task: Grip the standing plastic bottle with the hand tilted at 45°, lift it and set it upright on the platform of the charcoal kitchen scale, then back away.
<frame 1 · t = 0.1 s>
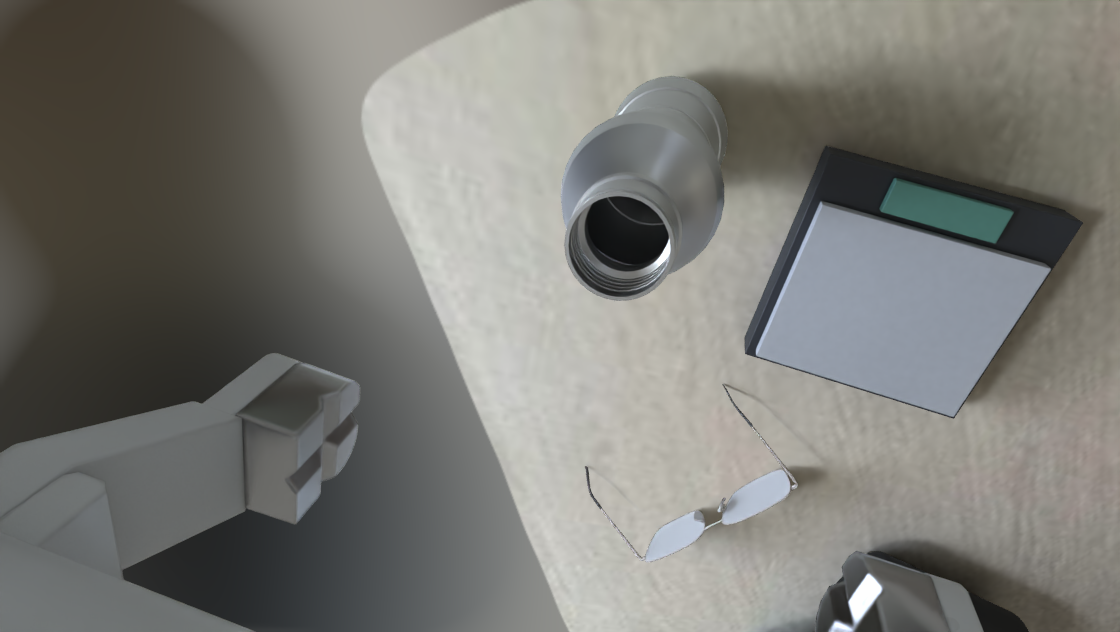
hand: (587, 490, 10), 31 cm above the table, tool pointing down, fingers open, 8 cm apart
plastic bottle: (671, 130, 38), on the table
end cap: (913, 583, 48), on the table
scale: (888, 280, 38), on the table
eyeglasses: (684, 461, 48), on the table
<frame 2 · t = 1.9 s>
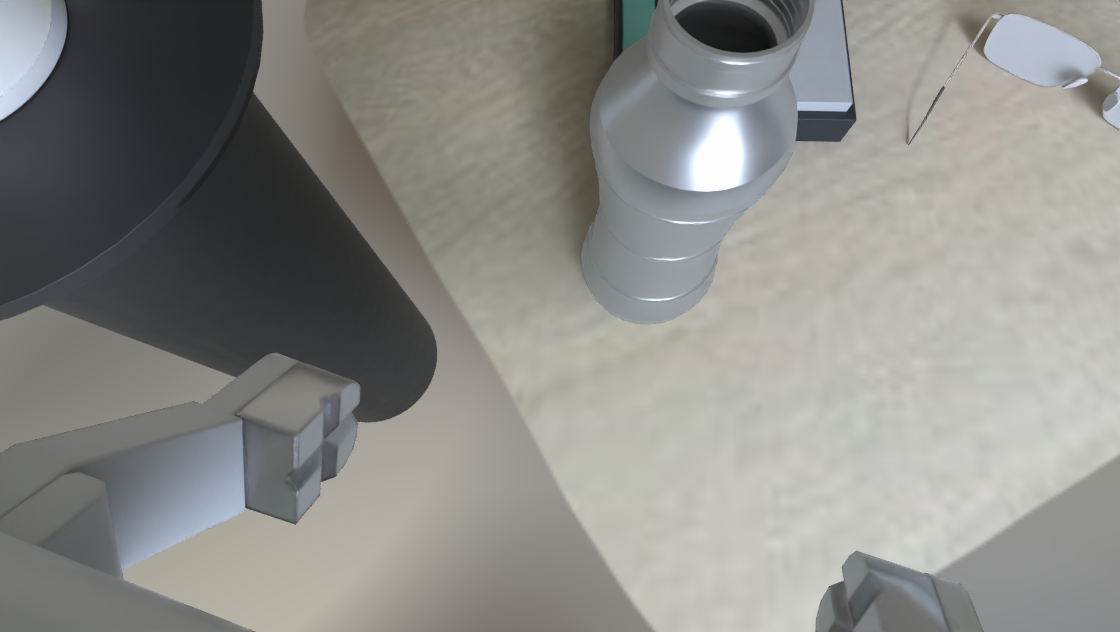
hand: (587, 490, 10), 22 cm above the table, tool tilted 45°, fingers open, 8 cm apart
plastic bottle: (641, 278, 35), on the table
scale: (721, 44, 39), on the table
eyeglasses: (1040, 155, 37), on the table
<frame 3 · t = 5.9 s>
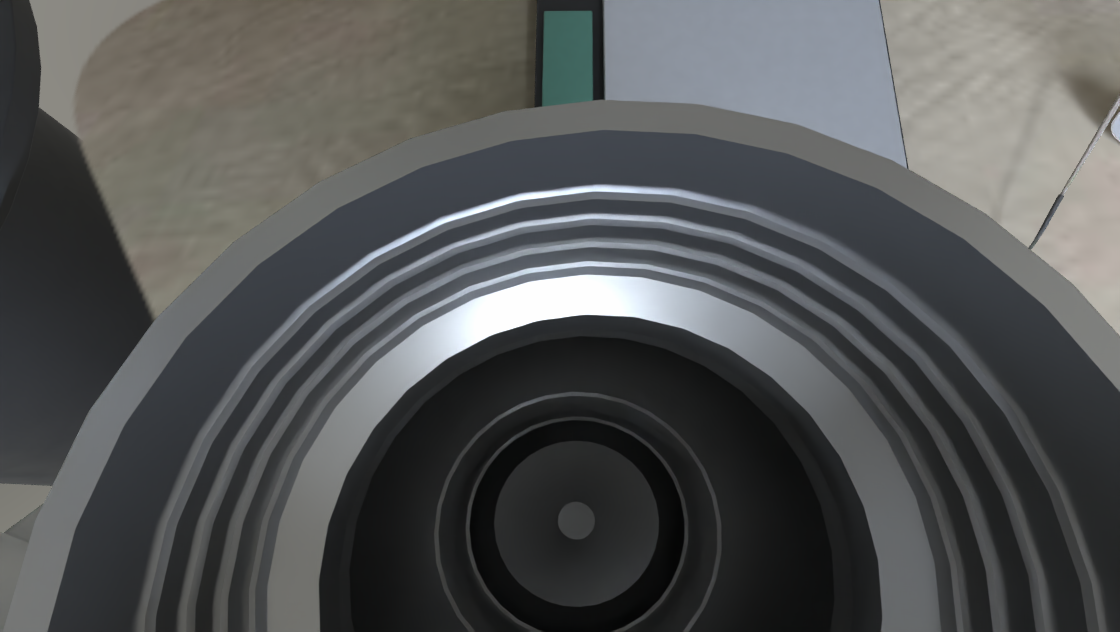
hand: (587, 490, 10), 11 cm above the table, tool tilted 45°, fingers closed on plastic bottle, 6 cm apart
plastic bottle: (574, 520, 21), on the table, touching gripper
scale: (702, 124, 25), on the table
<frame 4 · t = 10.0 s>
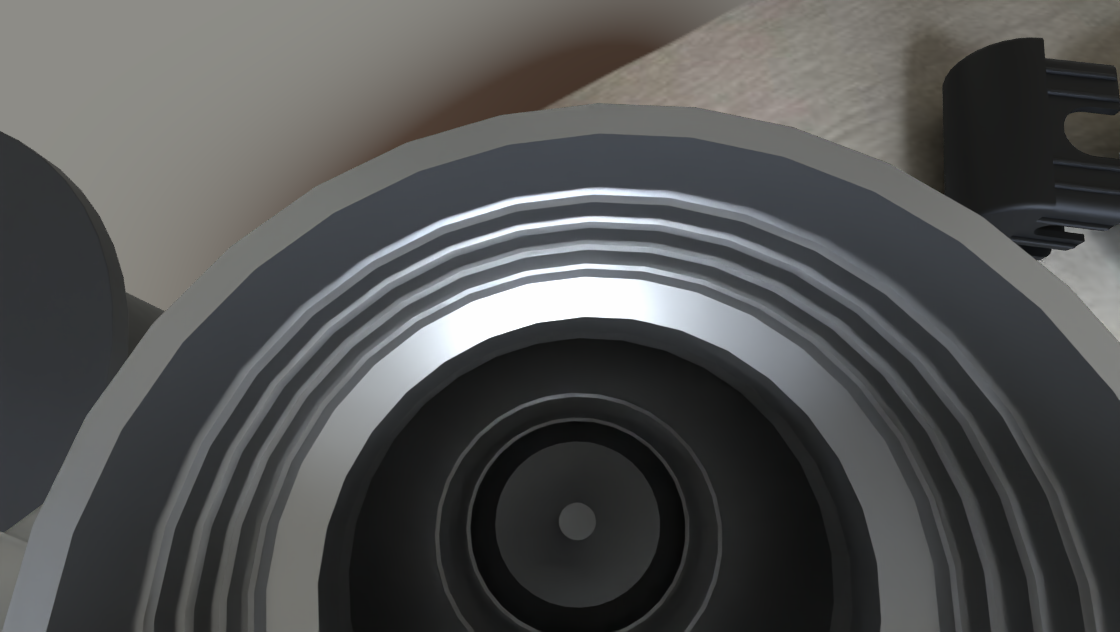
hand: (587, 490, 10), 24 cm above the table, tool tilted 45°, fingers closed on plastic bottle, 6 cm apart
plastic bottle: (575, 521, 21), point 13 cm above the table, touching gripper
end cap: (975, 186, 38), on the table
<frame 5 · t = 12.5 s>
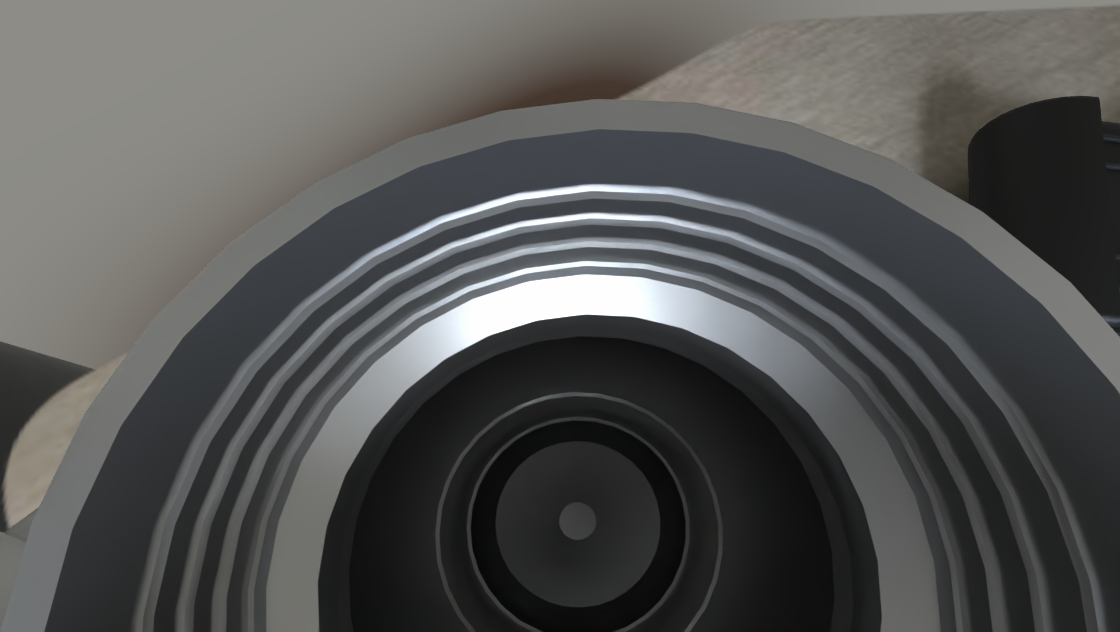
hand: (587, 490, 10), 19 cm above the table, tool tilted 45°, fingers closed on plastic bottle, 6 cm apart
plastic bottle: (576, 520, 21), point 8 cm above the table, touching gripper
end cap: (1006, 267, 32), on the table
when the fingers open (14 cm above the table, at t = 14.5 s): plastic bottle stays where it is, resting on scale.
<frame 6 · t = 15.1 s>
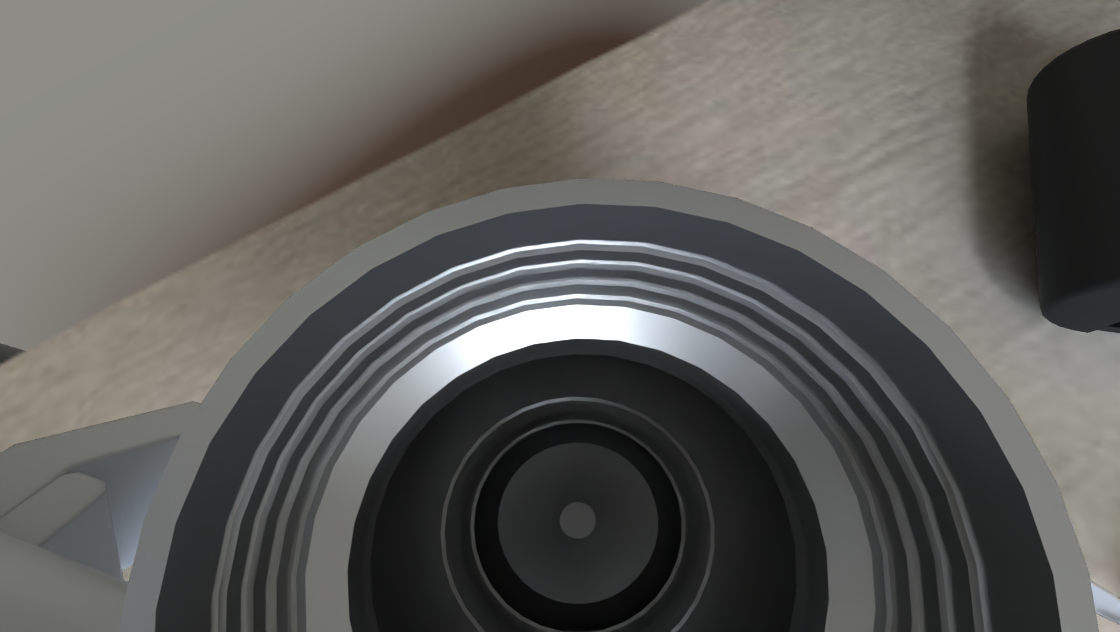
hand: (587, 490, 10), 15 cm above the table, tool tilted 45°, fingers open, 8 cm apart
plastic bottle: (576, 520, 22), point 3 cm above the table, touching scale
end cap: (1070, 230, 28), on the table
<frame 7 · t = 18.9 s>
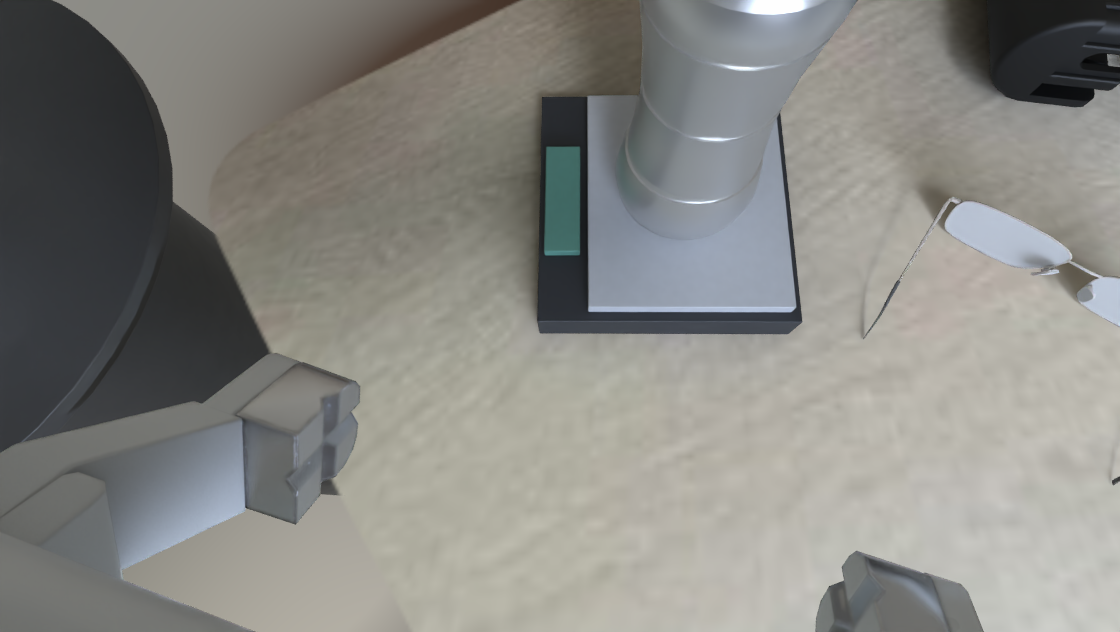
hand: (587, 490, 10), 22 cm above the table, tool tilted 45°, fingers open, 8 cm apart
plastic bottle: (677, 197, 33), point 3 cm above the table, touching scale
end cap: (1016, 40, 39), on the table
scale: (659, 220, 35), on the table
eyeglasses: (1010, 346, 33), on the table
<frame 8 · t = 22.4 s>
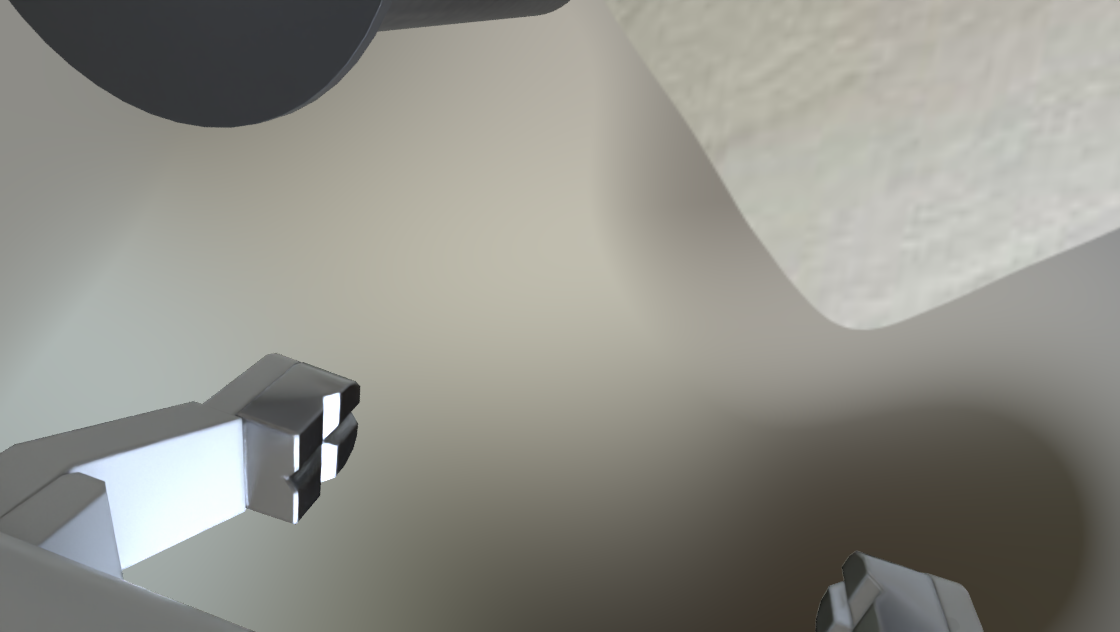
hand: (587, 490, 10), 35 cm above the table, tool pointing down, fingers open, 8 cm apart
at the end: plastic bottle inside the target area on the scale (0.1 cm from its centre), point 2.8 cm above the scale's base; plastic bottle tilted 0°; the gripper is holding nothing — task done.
